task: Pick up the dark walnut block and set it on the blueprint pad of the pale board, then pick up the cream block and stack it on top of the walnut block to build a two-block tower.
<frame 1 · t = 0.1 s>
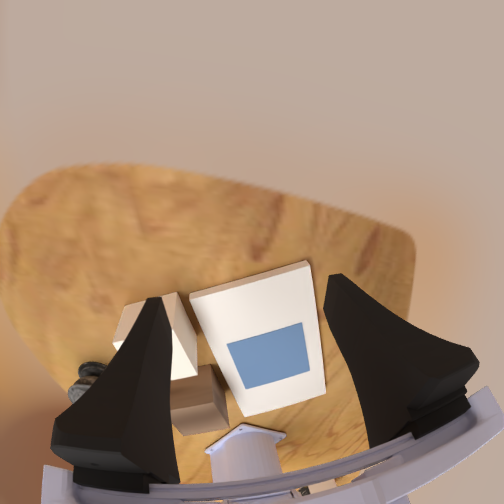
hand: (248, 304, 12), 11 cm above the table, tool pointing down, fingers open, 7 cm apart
board: (269, 352, 28), on the table
cream block: (161, 321, 25), on the table
walnut block: (195, 383, 28), on the table
medicine bottle: (314, 483, 50), on the table
grey tall round piece: (100, 377, 27), on the table
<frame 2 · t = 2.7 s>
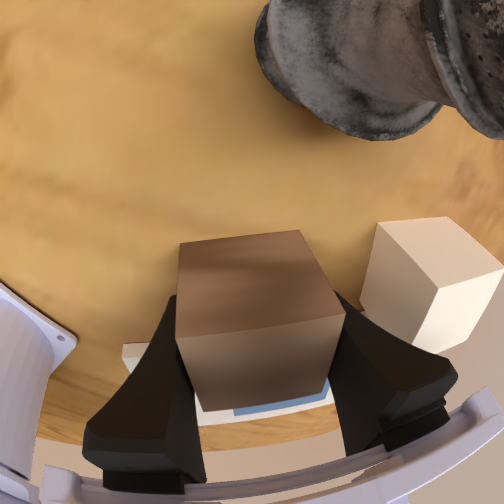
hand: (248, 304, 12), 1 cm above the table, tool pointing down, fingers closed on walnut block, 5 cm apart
board: (279, 374, 19), on the table
cream block: (404, 258, 15), on the table
walnut block: (243, 283, 14), on the table, touching gripper
grey tall round piece: (324, 46, 8), on the table
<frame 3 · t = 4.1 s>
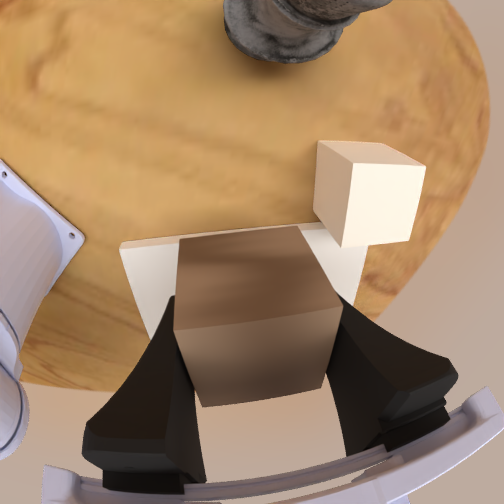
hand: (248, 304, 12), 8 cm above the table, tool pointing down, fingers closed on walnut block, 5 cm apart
board: (251, 284, 23), on the table
cream block: (348, 175, 19), on the table
walnut block: (242, 278, 14), point 7 cm above the table, touching gripper
grey tall round piece: (269, 21, 13), on the table
when the fingers open (3 cm above the table, at t = 5.9 s): walnut block stays where it is, resting on board.
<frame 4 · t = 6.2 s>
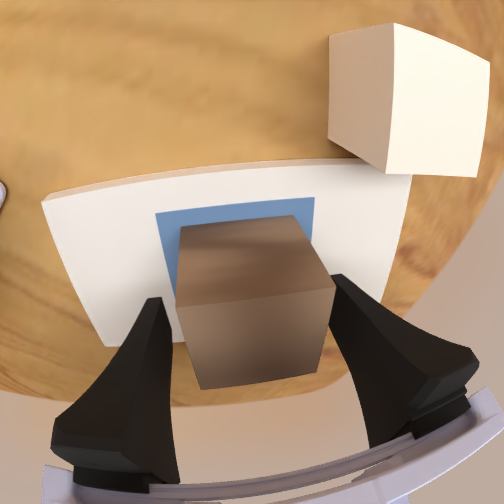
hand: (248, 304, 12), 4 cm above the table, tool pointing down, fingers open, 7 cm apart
board: (237, 257, 15), on the table
cream block: (375, 91, 11), on the table
walnut block: (240, 266, 14), point 1 cm above the table, touching board
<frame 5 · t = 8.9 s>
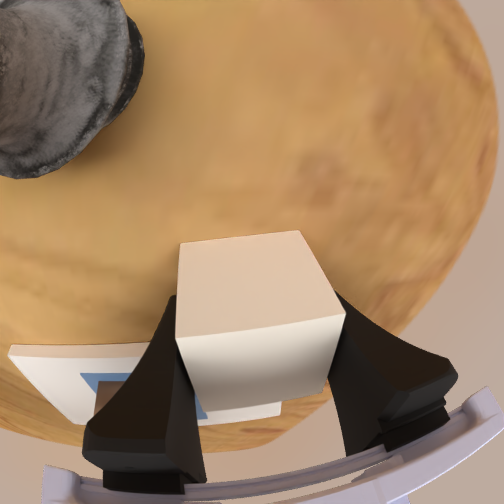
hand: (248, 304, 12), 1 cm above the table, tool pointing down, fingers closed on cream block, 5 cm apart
board: (149, 388, 17), on the table
cream block: (243, 282, 14), on the table, touching gripper
walnut block: (147, 399, 16), point 1 cm above the table, touching board
grey tall round piece: (76, 69, 7), on the table
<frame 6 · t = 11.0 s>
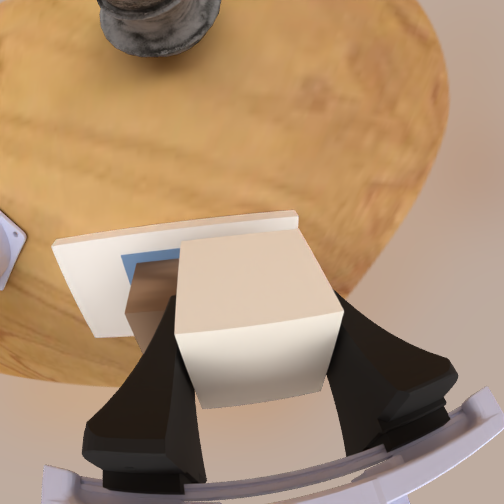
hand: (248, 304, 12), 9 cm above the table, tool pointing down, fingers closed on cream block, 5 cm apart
board: (177, 279, 22), on the table
cream block: (243, 281, 14), point 7 cm above the table, touching gripper
walnut block: (176, 286, 21), point 1 cm above the table, touching board
grey tall round piece: (167, 18, 12), on the table
when the fingers open (8 cm above the table, at t = 13.1 s): cream block stays where it is, resting on walnut block.
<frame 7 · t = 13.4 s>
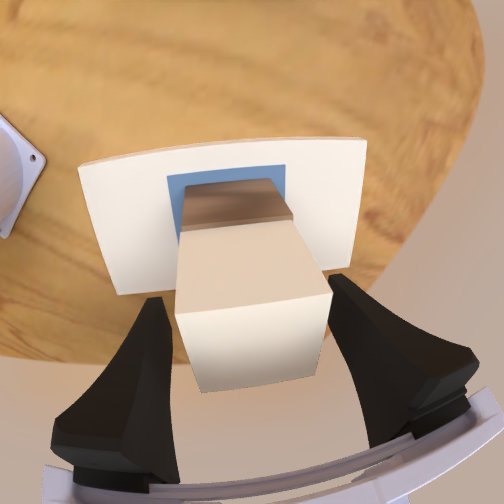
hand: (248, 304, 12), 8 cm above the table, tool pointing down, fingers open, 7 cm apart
board: (228, 214, 19), on the table
cream block: (239, 270, 14), point 6 cm above the table, touching walnut block
walnut block: (230, 218, 18), point 1 cm above the table, touching board, cream block
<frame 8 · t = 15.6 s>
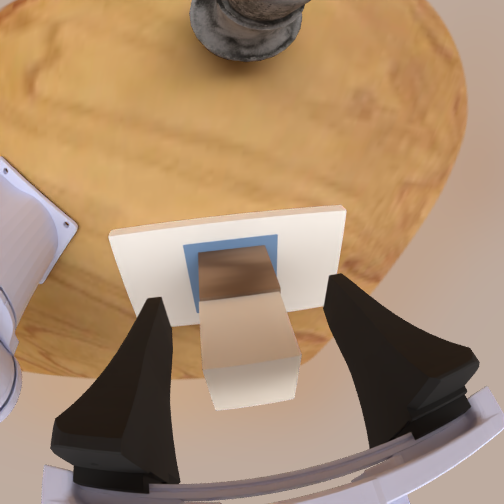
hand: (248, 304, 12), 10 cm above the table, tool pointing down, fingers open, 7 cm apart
board: (232, 269, 24), on the table
cream block: (241, 323, 19), point 6 cm above the table, touching walnut block
walnut block: (233, 275, 23), point 1 cm above the table, touching board, cream block
grey tall round piece: (238, 24, 14), on the table
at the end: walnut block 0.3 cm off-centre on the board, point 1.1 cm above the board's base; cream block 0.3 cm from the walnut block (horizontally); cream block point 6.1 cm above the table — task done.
